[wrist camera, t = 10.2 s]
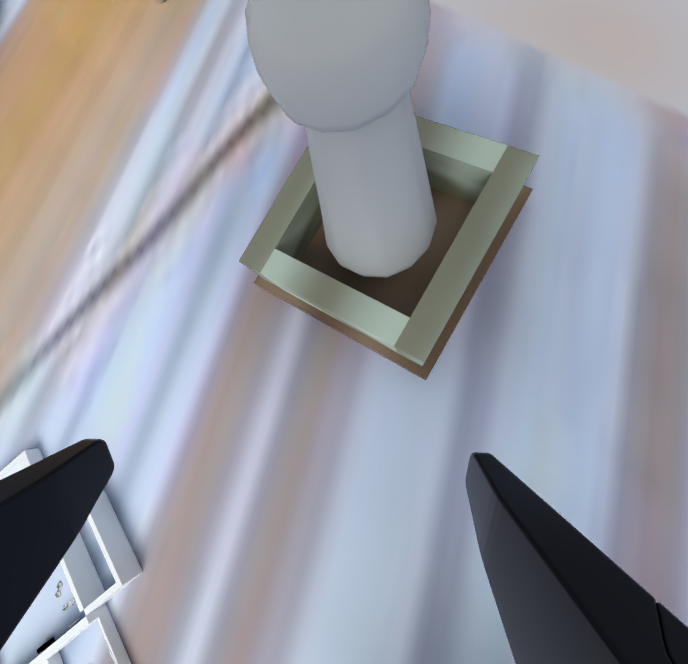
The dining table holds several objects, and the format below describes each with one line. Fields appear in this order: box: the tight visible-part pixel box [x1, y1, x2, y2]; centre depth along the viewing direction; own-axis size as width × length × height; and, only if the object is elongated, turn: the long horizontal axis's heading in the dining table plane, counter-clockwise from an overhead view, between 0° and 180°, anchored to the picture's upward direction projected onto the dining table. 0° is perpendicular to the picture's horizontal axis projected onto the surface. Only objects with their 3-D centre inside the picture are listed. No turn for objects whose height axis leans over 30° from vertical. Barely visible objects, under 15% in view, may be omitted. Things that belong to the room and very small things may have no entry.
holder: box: [239, 116, 539, 380], centre depth 18 cm, size 12×12×4 cm
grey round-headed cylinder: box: [245, 0, 437, 278], centre depth 13 cm, size 6×6×13 cm
